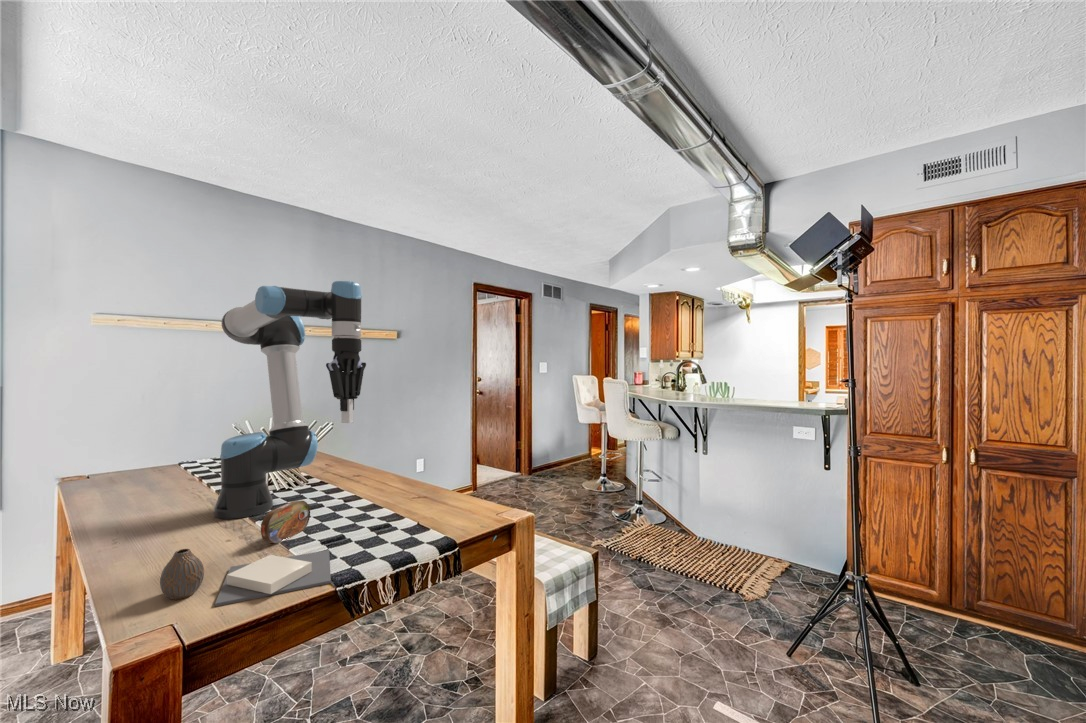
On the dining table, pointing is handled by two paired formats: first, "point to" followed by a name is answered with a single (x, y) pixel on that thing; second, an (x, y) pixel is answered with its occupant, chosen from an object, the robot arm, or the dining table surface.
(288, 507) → the tin
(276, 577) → the tile
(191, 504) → the dining table surface
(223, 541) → the dining table surface
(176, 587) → the vase
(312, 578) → the mat
